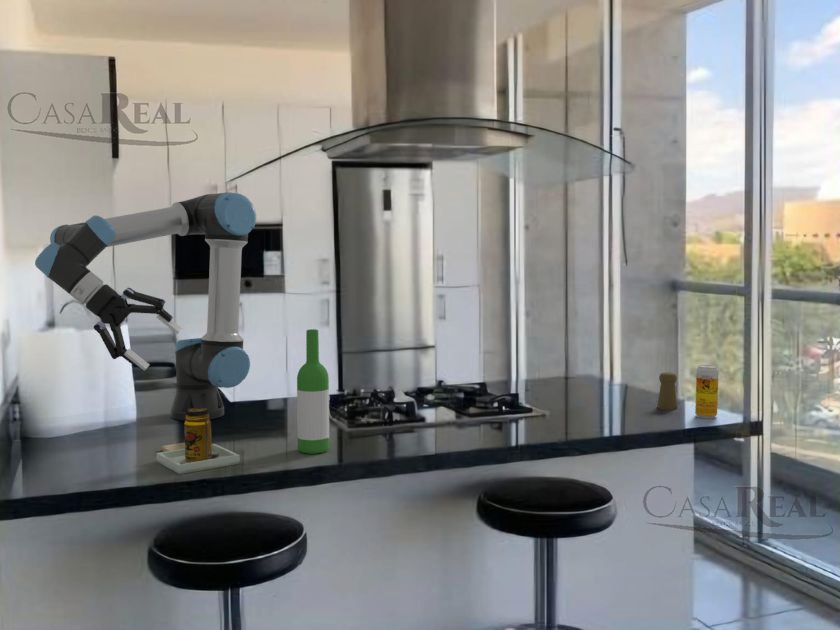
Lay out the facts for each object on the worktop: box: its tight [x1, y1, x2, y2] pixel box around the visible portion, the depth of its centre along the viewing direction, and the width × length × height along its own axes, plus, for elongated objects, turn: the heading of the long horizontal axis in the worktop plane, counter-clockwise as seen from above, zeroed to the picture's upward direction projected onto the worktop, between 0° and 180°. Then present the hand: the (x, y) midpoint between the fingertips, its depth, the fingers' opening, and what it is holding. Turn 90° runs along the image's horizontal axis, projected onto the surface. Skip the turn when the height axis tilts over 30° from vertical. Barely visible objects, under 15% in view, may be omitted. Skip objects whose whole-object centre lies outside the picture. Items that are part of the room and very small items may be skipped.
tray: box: [156, 443, 241, 475], centre depth 197 cm, size 15×14×2 cm
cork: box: [656, 371, 678, 411], centre depth 261 cm, size 6×6×11 cm
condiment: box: [181, 408, 220, 463], centre depth 198 cm, size 7×8×12 cm
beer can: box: [694, 364, 720, 419], centre depth 248 cm, size 6×6×15 cm
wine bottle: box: [296, 328, 330, 455], centre depth 207 cm, size 8×8×30 cm
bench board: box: [160, 442, 185, 452], centre depth 208 cm, size 9×8×2 cm
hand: (163, 349), depth 212 cm, fingers open, 13 cm apart
